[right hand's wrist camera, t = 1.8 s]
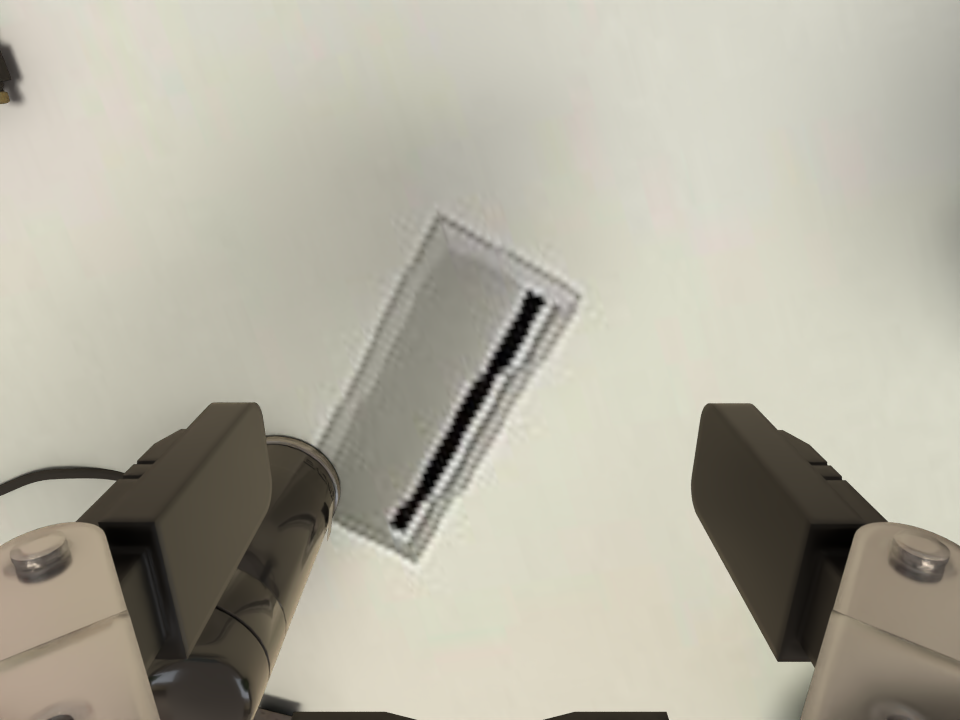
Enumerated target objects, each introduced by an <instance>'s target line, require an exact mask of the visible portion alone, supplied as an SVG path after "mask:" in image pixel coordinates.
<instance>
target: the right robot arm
mask: <svg viewBox="0 0 960 720" xmlns="http://www.w3.org/2000/svg"><path fill="white" fill-rule="evenodd" d="M69 478H97V479H109V480H116V482H115V483H114V484H113V485H112V486H111V487H110V488H109V489H108V490H107V491H106V492H105V493H104V494H103V495H102V496H101V497H100V498H99V499H98V500H97V501H96V502H95V503H94V504H93V505H92V506H91V507H90V508H89V509H88V510H87V511H86V512H85V513H84V514H83V515H82V516H81V517H80V518H79V519H78V520H77V521H76V522H68V523H60V524H55V525H50V526H46V527H42V528H39V529H36V530H33V531H30V532H27V533H25V534H23V535H20V536H18V537H16V538H14V539H12V540H10V541H8V542H6V543H4V544H3V545H1V546H0V720H253V718H254V716H255V714H256V712H257V709H258V707H259V704H260V702H261V699H262V696H263V694H264V691H265V689H266V686H267V683H268V680H269V678H270V675H271V673H272V670H273V667H274V665H275V662H276V660H277V657H278V655H279V652H280V649H281V647H282V644H283V641H284V638H285V636H286V633H287V631H288V628H289V626H290V623H291V620H292V618H293V615H294V613H295V610H296V608H297V605H298V602H299V600H300V597H301V595H302V592H303V590H304V587H305V584H306V582H307V579H308V577H309V574H310V572H311V569H312V566H313V564H314V561H315V559H316V556H317V554H318V551H319V548H320V546H321V543H322V541H323V538H324V536H325V533H326V531H327V528H328V537H327V541H328V538H329V535H330V533H331V524H332V517H333V515H334V513H335V511H336V508H337V505H338V503H339V499H340V484H339V480H338V477H337V474H336V472H335V470H334V468H333V466H332V465H331V464H330V462H329V461H328V460H327V459H326V458H325V456H323V455H322V454H321V453H320V452H319V451H317V450H316V449H315V448H313V447H312V446H310V445H308V444H306V443H304V442H301V441H299V440H296V439H292V438H287V437H279V436H271V437H266V436H265V429H264V422H263V416H262V412H261V409H260V407H259V405H258V404H257V403H211V404H210V405H209V406H208V407H207V408H206V409H205V410H204V411H203V412H202V413H201V414H200V415H199V416H198V417H197V418H196V419H195V421H194V422H193V423H192V424H191V425H190V426H189V427H188V428H187V429H180V430H179V431H177V432H175V433H173V434H171V435H169V436H168V437H166V438H164V439H162V440H160V441H159V442H157V443H155V444H154V445H153V446H152V447H151V448H150V449H149V450H148V451H147V452H146V453H145V454H144V455H143V456H142V457H141V458H140V459H139V460H138V461H137V464H134V465H133V466H132V467H131V468H130V469H128V470H127V471H126V472H125V473H122V472H118V471H113V470H106V469H91V468H79V469H53V470H44V471H39V472H35V473H31V474H27V475H24V476H21V477H19V478H16V479H14V480H12V481H9V482H7V483H5V484H3V485H0V496H1V495H4V494H6V493H8V492H10V491H13V490H15V489H17V488H20V487H22V486H25V485H27V484H30V483H33V482H37V481H42V480H49V479H69ZM691 494H692V501H693V505H694V509H695V512H696V514H697V516H698V518H699V520H700V521H701V523H702V525H703V527H704V529H705V531H706V532H707V534H708V536H709V538H710V540H711V541H712V543H713V545H714V547H715V549H716V550H717V552H718V554H719V556H720V558H721V560H722V561H723V563H724V565H725V567H726V569H727V570H728V572H729V574H730V576H731V578H732V580H733V581H734V583H735V585H736V587H737V589H738V590H739V592H740V594H741V596H742V598H743V600H744V601H745V603H746V605H747V607H748V609H749V610H750V612H751V614H752V616H753V618H754V620H755V621H756V623H757V625H758V627H759V629H760V630H761V632H762V634H763V636H764V638H765V639H766V641H767V643H768V645H769V647H770V649H771V650H772V652H773V654H774V656H775V658H776V659H777V661H778V662H812V664H813V666H814V667H815V670H814V673H813V677H812V680H811V683H810V687H809V690H808V694H807V697H806V701H805V704H804V707H803V711H802V714H801V718H800V720H960V546H959V545H957V544H956V543H954V542H952V541H950V540H948V539H946V538H944V537H942V536H940V535H937V534H935V533H933V532H930V531H927V530H924V529H921V528H918V527H914V526H910V525H905V524H900V523H892V522H888V521H887V520H886V519H885V518H884V517H883V516H882V515H880V514H879V513H878V512H877V511H876V510H875V509H874V508H873V507H872V506H871V505H870V504H869V503H868V502H867V501H866V500H865V499H864V498H863V497H862V496H861V495H860V494H859V493H858V492H857V491H856V490H855V489H854V488H853V487H852V486H851V485H850V484H849V483H848V482H847V481H846V480H842V476H841V475H840V474H839V473H838V472H837V471H836V470H835V469H834V468H833V467H832V466H827V461H826V460H825V459H823V458H822V457H821V456H820V455H819V454H818V453H817V452H816V451H815V450H814V449H813V448H812V447H811V446H810V445H809V444H807V443H805V442H803V441H802V440H800V439H798V438H796V437H794V436H793V435H791V434H789V433H787V432H785V431H783V430H777V429H776V428H775V427H774V426H773V425H772V424H771V423H770V422H769V421H768V419H767V418H766V417H765V416H764V415H763V414H762V413H761V412H760V411H759V410H758V409H757V408H756V407H755V406H754V405H753V404H750V403H708V404H707V405H706V406H705V407H704V408H703V411H702V414H701V419H700V425H699V432H698V439H697V445H696V452H695V459H694V465H693V472H692V479H691ZM291 720H415V719H411V718H407V717H403V716H400V715H396V714H392V713H388V712H293V715H292V718H291ZM545 720H669V718H668V715H667V712H572V713H568V714H564V715H560V716H557V717H553V718H549V719H545Z"/></svg>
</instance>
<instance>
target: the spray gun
mask: <svg viewBox="0 0 960 720" xmlns="http://www.w3.org/2000/svg"><path fill="white" fill-rule="evenodd" d="M6 80H11V76H10V74H9V71H8V69H7V66H6V64H5V61H4V59H3V56H2V54H1V51H0V104H4V103H8V102H9V101H10V100H9V96H8V93H7V92H4V91H3V86H4V84H3V82H2V81H6Z"/></svg>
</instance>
